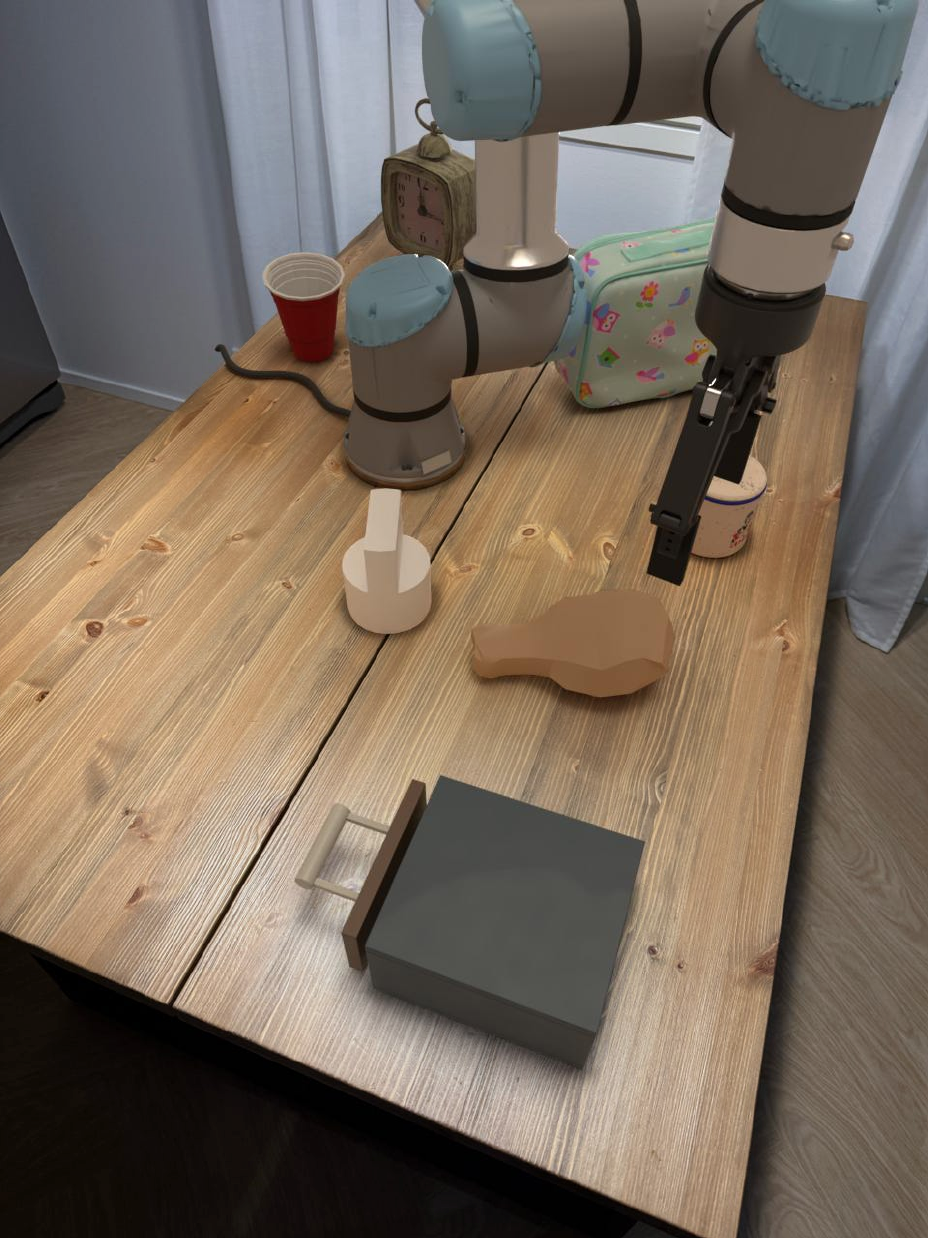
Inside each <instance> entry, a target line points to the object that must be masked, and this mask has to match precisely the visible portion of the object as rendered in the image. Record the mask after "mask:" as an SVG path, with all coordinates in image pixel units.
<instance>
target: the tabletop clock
mask: <svg viewBox="0 0 928 1238" xmlns="http://www.w3.org/2000/svg"><path fill="white" fill-rule="evenodd" d="M425 104H427V105H430V100H429V98H428V97H425V98H422V99H419V100H418V101H417V103H416V104H415V107H414V115H415V118H416V120H417V122H418V124H419V125H420V126H421V127H423V128H424V129H425V130H427V131H428V133H426V134H424V135H423V136H421V137H420V139H419V140H418V143H416V144H415V145H411V146H410V147H408V148H406V149H404V150H401V151H399V152H397V153H395V154H392V155H390V156H388V157H386V158H384V159H383V161H382V165H381V170H380V171H381V173H380V204H381V211H382V213H381V214H382V221H383V226H384V231H385V235H386V238H387V241H388V243H390V245H391V246H392V247H393V248H395V249H396V250H397V251H399V252H401V253H402V255H406V254H417V255H418V256H419V257H423V256H425V255H426V256H431V257H434V258H436V259H439V260H440V261H442V262H443V263H444V264H445V265H446V266H447V267H448V269H449V271H453V270H454V264H456V263H458V262H459V261H461V260H462V259H463V260H464V258H463V248H464V245H465V244H466V243H467V242H468V241H469V240H470V238H471V237H472V236H473V235H474V234H475V233H476V231H477V225H476V178H475V157H474V158H473V157H471V156H469V155H467V154H464V153H462V152H460V151H458V150H455V149H453V147H452V144H451V142H450V140H449V139H448V137H447V136H446V135H444V134H443V133H442V132H441V130H440V129H439V128H438V126H437V124H436V123H435V120H432V121H430V123H429V124H428V123H426V122H425V121H424V120H423V119H422V118H421V117H420V115H419V109H420V107H421V106H422V105H425Z"/></svg>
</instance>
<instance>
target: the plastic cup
mask: <svg viewBox="0 0 928 1238" xmlns="http://www.w3.org/2000/svg"><path fill="white" fill-rule="evenodd" d="M345 277H346V274H345V270H344V268H343V266H342V264H340V263H339V262H338V261H337V260H336V259H334V258H332V257H330V256H327V255H324V254H322V253H318V252H317V253H316V252H307V251H303V252H293V253H288V254H287V253H286V254H285V255H282V256H280V257H277V258H274V259H273V260H272V261H271V262H269V263H268V264H267V265H265V267H264V270H263V272H262V274H261V278H262V280H263V281H262V282H263V284H264V287H265V288H266V289H267V290H268V292H269V293H270V296H271V298H272V300H273V302H274V304H275V307H276V310H277V313H278V315H279V318H280V321H281V325H282V327H283V330H284V333H285V336H286V338H287V340H288V344H289V346H290V349H291V352H292V353H293V356H294V357H295V358H296V359H297V360H299V361H303V362H305V363H307V362H309V363H314V362H321V361H323V360H326V359H328V358H329V357H331V356H332V355H333V352H334V347H335V342H336V341H335V338H336V330H337V321H338V320H337V319H338V308H339V297H340V291H341V287H342V285H343V282H344V279H345Z"/></svg>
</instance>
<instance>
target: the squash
mask: <svg viewBox="0 0 928 1238" xmlns="http://www.w3.org/2000/svg"><path fill="white" fill-rule="evenodd" d="M470 639H471V644H472V646H473V650H474V652H473V657H472V663H471V669H472V671H474V672H475V673H476V674H477V675H478V676H480V677H481V678H485V679H490V680H491V679H496V678H499V677H502V676H503V677H504V676H529V675H532V676H538V677H543V678H550V679H551V680H553V681H554V682H556V683H557V684H558V685H559V686H561V688H563V689H564V690H567V691H572V692H576V693H579V694H585V695H588V696H589V697H592V698H607V697H614V696H621V695H622V696H623V695H630V694H631V695H632V694H633V693H635V692H637V691H639V690H641V689H643V688H645V687H647V686H648V685H650V684H652V683H654V682H656V681H658V680H659V679H661V678H663V677H665V676H666V675H667V673H668V671H669V668H670V663H671V658H672V654H673V650H674V646H675V642H676V635H675V632H674V629H673V626H672V622H671V620H670V616H669V613H668V612H667V610H666V608H665V606H664V604H663V602H662V600H661V598H660V597H657V596H655V595H651V594H648V593H645V592H643V591H639V590H636V589H634V588H617V589H608V590H601V591H596V592H593V593H591V594H581V595H572V596H564V597H563V598H562V599H559V600H558V601H556V602H555V603H553V604H552V605H550V606H549V607H548V608H547V610H546V611H545V612H544V613H542V614H540V615H538V616H536V617H534V618H533V619H531V620H529V621H526V622H517V623H509V624H496V623H478V624H476V625H474V626H473V627H471V629H470Z"/></svg>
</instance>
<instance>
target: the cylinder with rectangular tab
mask: <svg viewBox="0 0 928 1238" xmlns="http://www.w3.org/2000/svg"><path fill="white" fill-rule="evenodd" d="M402 501H403V499H402V490H400V489H389V488H374V489H371V490H370V494H369V502H368V503H369V504H368V510H367V520H366V527H365V535H364V537H362V538H359V539H358V540H356V541H355V542H354V543H353V544H352V545H350V546H349V547H348V548H347V550H346V552H344V555H343V558H342V563H341V564H342V567H341V568H342V575H343V585H344V590H345V598H346V606H347V610H348V613H349V616H350V618H351V619H352V621H354V622H355V623H356V625H358V626H359V627H361V628H363V629H364V630H365V631H368V632H372V633H375V634H381V635H393V634H400V633H403V632H407V631H410V630H411V629H413V628H415V627H417V626H419V625H420V623H422V622H423V621H424V620H425V619H426V618H427V616H428V614H429V613H430V611H431V608H432V572H431V571H432V570H431V555H430V554H429V551H428V550H427V548H426V547H425V545H424V544H423V543H421V542H420V541H419V540H417V538H414V537H412V536H410V535H407V534H404V522H403V519H404V518H403V502H402Z"/></svg>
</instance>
